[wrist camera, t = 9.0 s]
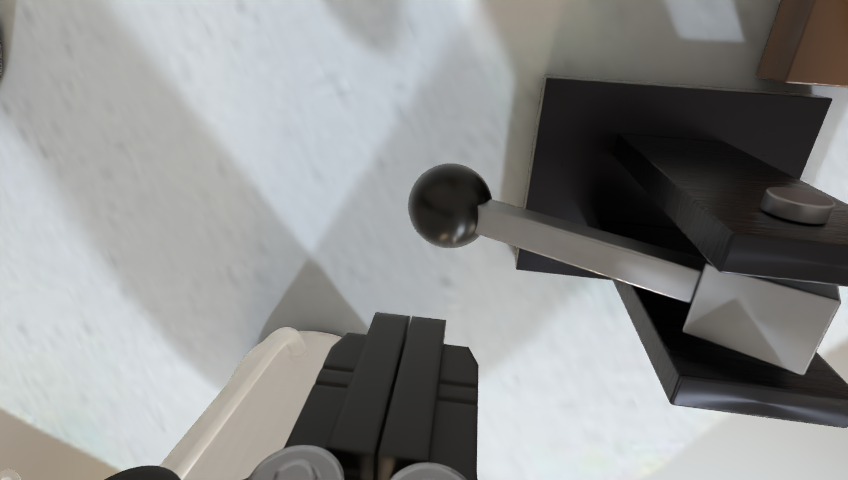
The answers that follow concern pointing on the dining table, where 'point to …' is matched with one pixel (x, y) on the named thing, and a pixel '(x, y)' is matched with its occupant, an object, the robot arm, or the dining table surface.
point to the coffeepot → (249, 409)
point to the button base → (808, 44)
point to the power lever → (636, 269)
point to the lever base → (696, 218)
